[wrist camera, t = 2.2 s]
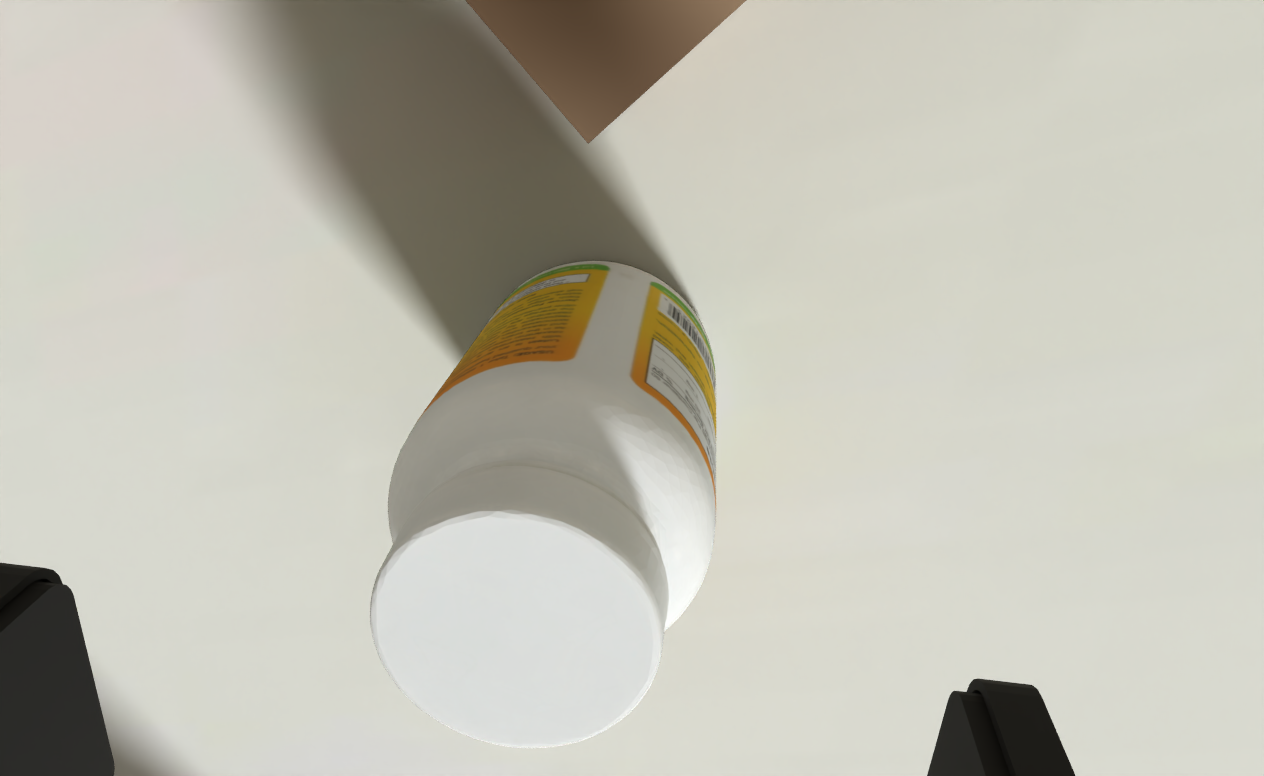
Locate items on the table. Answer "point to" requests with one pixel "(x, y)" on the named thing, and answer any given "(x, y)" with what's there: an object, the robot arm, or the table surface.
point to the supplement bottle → (552, 511)
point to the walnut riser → (600, 47)
